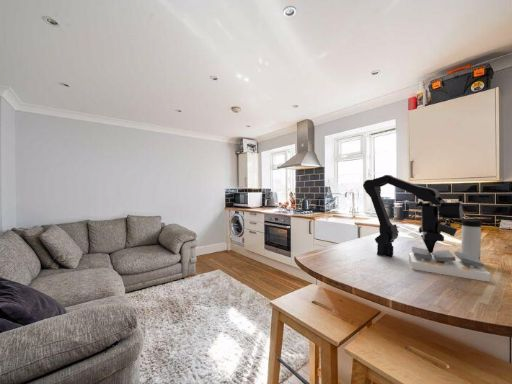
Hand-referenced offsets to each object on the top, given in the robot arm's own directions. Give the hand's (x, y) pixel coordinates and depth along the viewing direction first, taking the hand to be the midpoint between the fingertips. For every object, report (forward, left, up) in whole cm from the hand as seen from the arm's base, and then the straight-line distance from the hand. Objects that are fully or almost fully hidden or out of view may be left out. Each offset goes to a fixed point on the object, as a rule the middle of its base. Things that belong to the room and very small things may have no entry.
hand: (430, 252), depth 93 cm
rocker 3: (+12, 0, -1) cm, 12 cm away
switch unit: (+4, -2, -6) cm, 7 cm away
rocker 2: (+4, 0, -1) cm, 4 cm away
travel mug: (+17, +16, -6) cm, 24 cm away
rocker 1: (-3, 0, -1) cm, 4 cm away
